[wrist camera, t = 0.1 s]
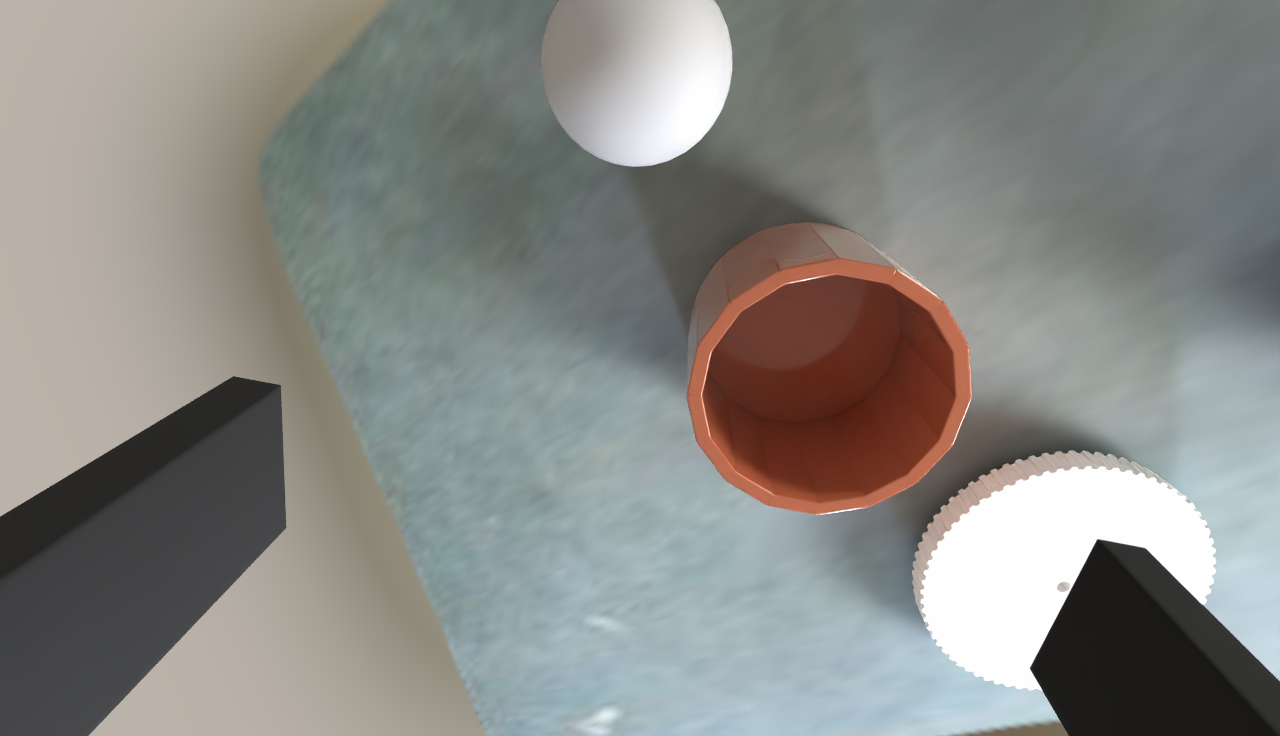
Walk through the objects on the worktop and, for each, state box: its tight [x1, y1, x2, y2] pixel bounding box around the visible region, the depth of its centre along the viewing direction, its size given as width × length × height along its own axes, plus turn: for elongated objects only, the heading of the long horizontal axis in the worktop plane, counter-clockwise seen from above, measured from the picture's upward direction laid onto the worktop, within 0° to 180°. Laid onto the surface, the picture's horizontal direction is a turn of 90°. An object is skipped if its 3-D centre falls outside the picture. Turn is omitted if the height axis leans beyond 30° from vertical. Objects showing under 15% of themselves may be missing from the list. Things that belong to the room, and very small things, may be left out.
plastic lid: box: [912, 451, 1216, 691], centre depth 35 cm, size 14×14×2 cm
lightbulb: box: [541, 0, 732, 167], centre depth 24 cm, size 6×6×11 cm
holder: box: [687, 222, 972, 515], centre depth 29 cm, size 10×10×8 cm
